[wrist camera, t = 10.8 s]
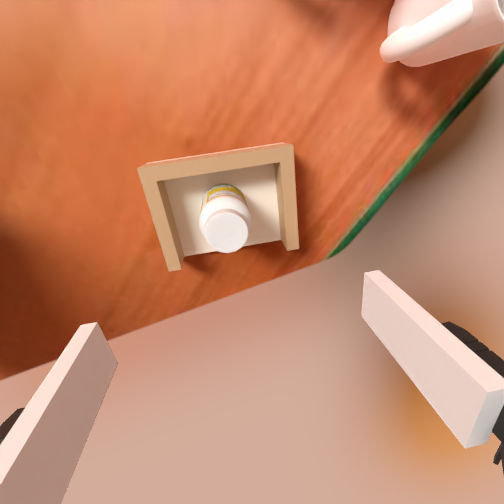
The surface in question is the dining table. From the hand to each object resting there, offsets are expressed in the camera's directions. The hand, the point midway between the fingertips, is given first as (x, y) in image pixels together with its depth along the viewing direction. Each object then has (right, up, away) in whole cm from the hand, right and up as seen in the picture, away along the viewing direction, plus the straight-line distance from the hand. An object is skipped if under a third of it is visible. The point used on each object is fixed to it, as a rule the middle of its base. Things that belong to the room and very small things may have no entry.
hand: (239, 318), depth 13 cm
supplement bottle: (-3, +9, +20) cm, 22 cm away
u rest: (-3, +10, +20) cm, 23 cm away
